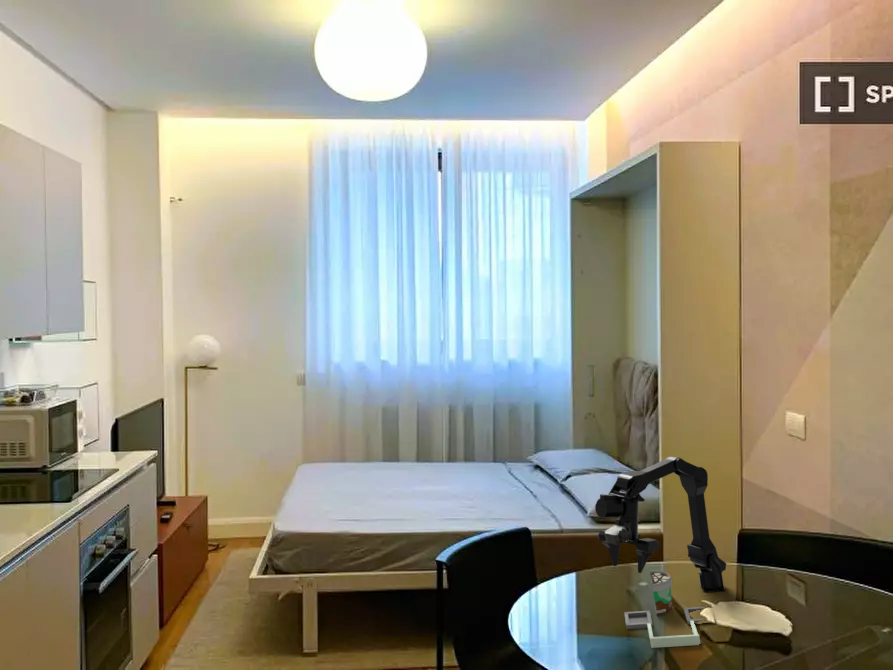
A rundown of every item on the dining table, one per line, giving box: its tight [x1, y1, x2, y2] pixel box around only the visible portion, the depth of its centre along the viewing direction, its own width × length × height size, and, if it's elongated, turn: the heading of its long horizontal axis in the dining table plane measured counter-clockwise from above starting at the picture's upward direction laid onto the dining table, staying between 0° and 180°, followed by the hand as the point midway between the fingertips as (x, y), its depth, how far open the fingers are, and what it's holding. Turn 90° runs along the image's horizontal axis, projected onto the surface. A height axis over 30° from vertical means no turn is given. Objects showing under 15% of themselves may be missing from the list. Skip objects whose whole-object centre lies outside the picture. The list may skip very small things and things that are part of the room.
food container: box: [649, 569, 674, 617], centre depth 229 cm, size 12×6×10 cm, turn 168°
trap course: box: [623, 606, 706, 649], centre depth 215 cm, size 25×22×2 cm
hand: (627, 569), depth 225 cm, fingers open, 9 cm apart
